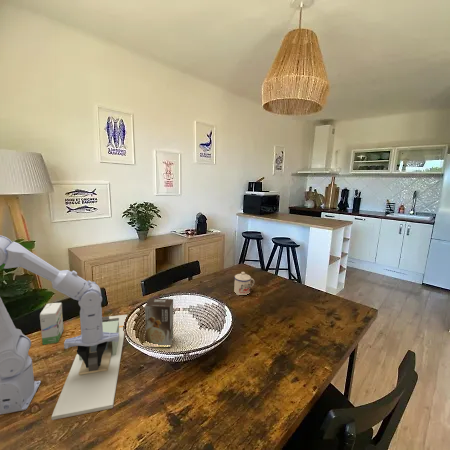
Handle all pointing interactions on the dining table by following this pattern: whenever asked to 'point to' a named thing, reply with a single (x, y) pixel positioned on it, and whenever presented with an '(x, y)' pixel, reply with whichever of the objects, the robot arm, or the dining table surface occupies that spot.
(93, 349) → the block
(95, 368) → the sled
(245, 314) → the dining table surface
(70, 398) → the deck
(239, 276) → the teacup with lid
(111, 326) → the tunnel
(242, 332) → the dining table surface
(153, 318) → the coffee box
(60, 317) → the ink box
